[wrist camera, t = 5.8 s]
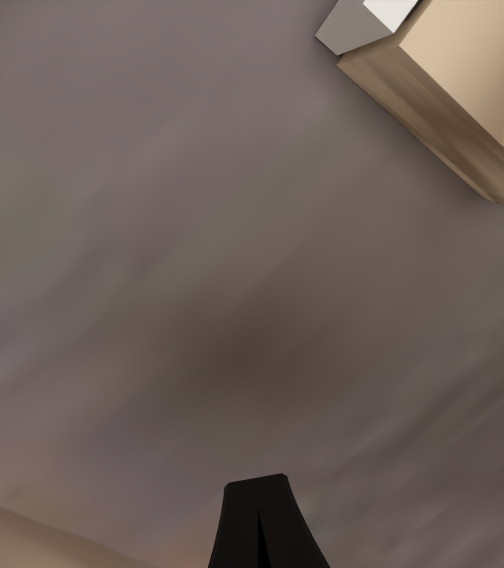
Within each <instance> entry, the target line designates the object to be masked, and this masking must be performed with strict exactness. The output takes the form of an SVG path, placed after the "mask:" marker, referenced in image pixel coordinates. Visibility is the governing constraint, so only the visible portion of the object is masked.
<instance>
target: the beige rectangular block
mask: <svg viewBox="0 0 504 568" xmlns="http://www.w3.org/2000/svg"><path fill="white" fill-rule="evenodd" d="M336 66H337V67H338V68H340V69H341V70H342V71H343V72H344V73H345V74H346V75H347V76H348V77H350V78H351V79H352V80H353V81H354V82H355V83H356V84H357V85H358V86H360V87H361V88H362V89H363V90H364V91H365V92H366V93H367V94H368V95H370V96H371V97H372V98H373V99H374V100H375V101H376V102H377V103H378V104H380V105H381V106H382V107H383V108H384V109H385V110H386V111H387V112H388V113H390V114H391V115H392V116H393V117H394V118H395V119H396V120H397V121H398V122H400V123H401V124H402V125H403V126H404V127H405V128H406V129H407V130H408V131H410V132H411V133H412V134H413V135H414V136H415V137H416V138H417V139H418V140H420V141H421V142H422V143H423V144H424V145H425V146H426V147H427V148H428V149H430V150H431V151H432V152H433V153H434V154H435V155H436V156H437V157H438V158H440V159H441V160H442V161H443V162H444V163H445V164H446V165H447V166H448V167H450V168H451V169H452V170H453V171H454V172H455V173H456V174H457V175H458V176H460V177H461V178H462V179H463V180H464V181H465V182H466V183H467V184H468V185H470V186H471V187H472V188H473V189H474V190H475V191H476V192H477V193H478V194H480V195H481V196H482V197H483V198H484V199H486V200H489V201H492V202H495V203H498V204H501V205H504V0H418V1H417V2H416V4H415V5H414V6H413V8H412V9H411V10H410V12H409V13H408V15H407V16H406V17H405V19H404V20H403V21H402V23H401V24H400V26H399V27H398V28H397V30H396V31H395V32H394V33H393V34H391V35H388V36H386V37H383V38H381V39H378V40H376V41H373V42H370V43H368V44H365V45H363V46H360V47H358V48H355V49H353V50H350V51H347V52H345V54H344V55H343V56H342V58H341V59H340V61H339V62H338V63H337V65H336Z"/></svg>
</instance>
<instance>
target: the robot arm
mask: <svg viewBox="0 0 504 568" xmlns="http://www.w3.org/2000/svg"><path fill="white" fill-rule="evenodd" d="M208 568H330V566H329V564H328V563H327V561H326V559H325V557H324V556H323V554H322V552H321V550H320V548H319V547H318V545H317V543H316V541H315V540H314V538H313V536H312V534H311V532H310V530H309V528H308V526H307V524H306V522H305V520H304V518H303V516H302V514H301V512H300V509H299V507H298V505H297V503H296V500H295V498H294V495H293V493H292V490H291V487H290V484H289V481H288V477H287V476H286V475H284V474H282V473H280V474H275V475H269V476H264V477H258V478H253V479H247V480H242V481H236V482H231V483H228V484H227V485H226V486H225V488H224V497H223V504H222V510H221V516H220V521H219V526H218V530H217V534H216V539H215V543H214V547H213V551H212V554H211V558H210V562H209V565H208Z"/></svg>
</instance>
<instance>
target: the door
mask: <svg viewBox="0 0 504 568" xmlns="http://www.w3.org/2000/svg"><path fill="white" fill-rule="evenodd" d="M417 1H418V0H339V1H338V2H337V3H336V5H335V6H334V8H333V9H332V11H331V12H330V14H329V15H328V17H327V18H326V20H325V21H324V23H323V24H322V26H321V27H320V28H319V30H318V31H317V33H316V34H315V36H316V37H317V38H318V39H319V40H320V41H321V42H322V43H324V44H325V45H326V46H327V47H328V48H329V49H330V50H331V51H332V52H334V53H335V54H336V55H340V54H342V53H345V52H347V51H350V50H353V49H355V48H358V47H360V46H363V45H365V44H368V43H370V42H373V41H376V40H378V39H381V38H383V37H386V36H388V35H391V34H393V33H394V32H395V31H396V30H397V28H398V27H399V26H400V24H401V23H402V21H403V20H404V19H405V17H406V16H407V15H408V13H409V12H410V10H411V9H412V8H413V6H414V5H415V4H416V2H417Z"/></svg>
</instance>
